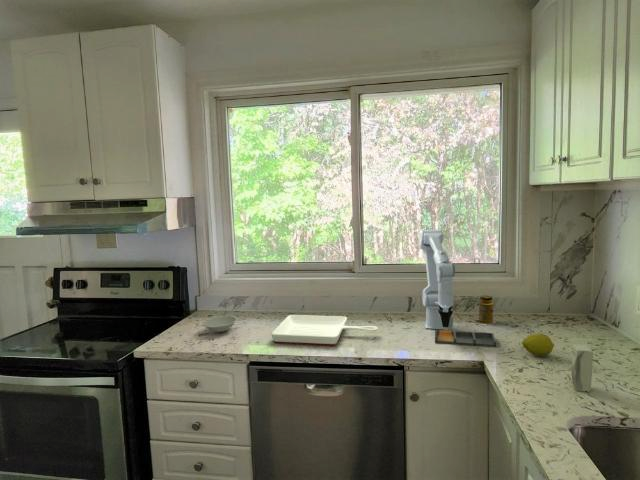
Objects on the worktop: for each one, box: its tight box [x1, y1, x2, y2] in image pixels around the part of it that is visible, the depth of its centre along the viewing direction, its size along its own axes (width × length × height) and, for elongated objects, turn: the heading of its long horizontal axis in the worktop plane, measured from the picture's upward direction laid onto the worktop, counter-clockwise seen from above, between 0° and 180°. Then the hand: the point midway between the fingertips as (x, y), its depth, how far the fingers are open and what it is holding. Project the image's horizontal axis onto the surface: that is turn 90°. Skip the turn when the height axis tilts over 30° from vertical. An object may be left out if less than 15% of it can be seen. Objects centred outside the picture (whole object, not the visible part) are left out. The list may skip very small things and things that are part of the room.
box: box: [570, 344, 594, 393], centre depth 128 cm, size 5×4×13 cm
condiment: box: [472, 295, 497, 326], centre depth 194 cm, size 7×8×12 cm
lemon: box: [521, 333, 555, 357], centre depth 154 cm, size 11×8×8 cm
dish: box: [202, 314, 238, 333], centre depth 192 cm, size 18×14×5 cm
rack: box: [434, 329, 497, 348], centre depth 171 cm, size 10×23×2 cm, turn 74°
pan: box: [270, 314, 379, 347], centre depth 183 cm, size 28×44×5 cm, turn 78°
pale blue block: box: [438, 315, 454, 331], centre depth 173 cm, size 3×5×5 cm, turn 30°
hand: (445, 324), depth 173 cm, fingers closed on pale blue block, 6 cm apart
